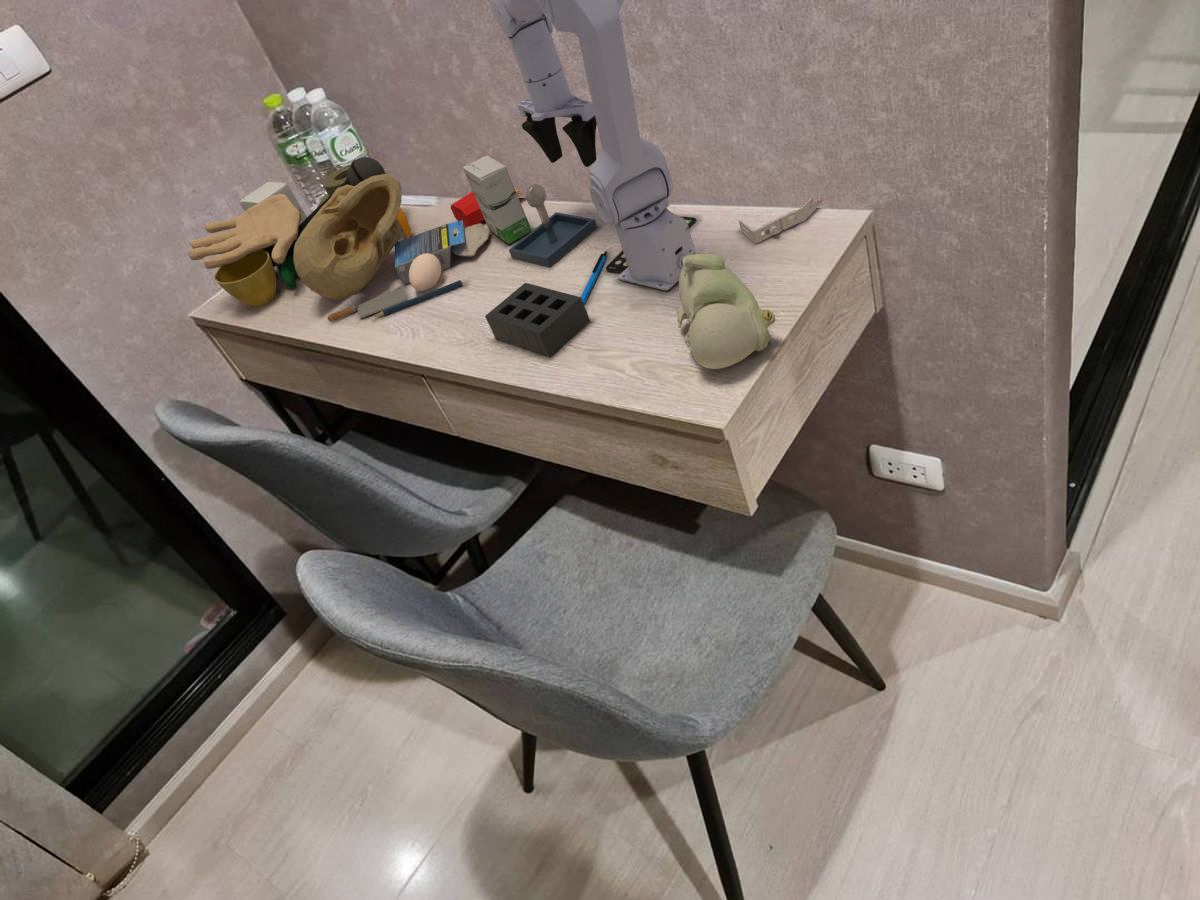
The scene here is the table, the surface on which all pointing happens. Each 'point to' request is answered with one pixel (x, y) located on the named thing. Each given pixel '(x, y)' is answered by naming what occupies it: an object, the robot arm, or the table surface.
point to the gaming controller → (288, 272)
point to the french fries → (469, 210)
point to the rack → (538, 319)
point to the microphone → (351, 180)
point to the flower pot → (249, 279)
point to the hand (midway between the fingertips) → (573, 161)
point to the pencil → (420, 298)
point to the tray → (568, 236)
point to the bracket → (780, 222)
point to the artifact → (471, 240)
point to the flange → (335, 181)
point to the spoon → (541, 208)
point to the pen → (593, 276)
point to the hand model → (250, 233)
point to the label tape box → (427, 247)
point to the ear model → (349, 237)
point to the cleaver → (373, 305)
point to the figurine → (720, 313)
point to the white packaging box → (271, 190)
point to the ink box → (497, 199)
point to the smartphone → (620, 261)
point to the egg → (424, 272)
